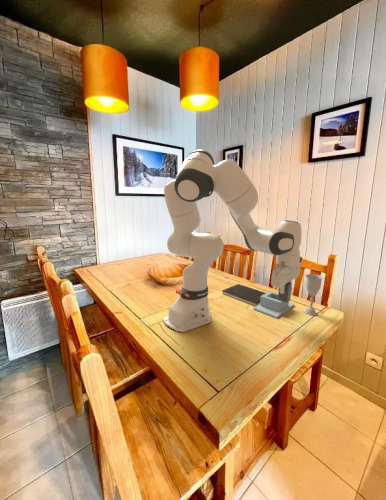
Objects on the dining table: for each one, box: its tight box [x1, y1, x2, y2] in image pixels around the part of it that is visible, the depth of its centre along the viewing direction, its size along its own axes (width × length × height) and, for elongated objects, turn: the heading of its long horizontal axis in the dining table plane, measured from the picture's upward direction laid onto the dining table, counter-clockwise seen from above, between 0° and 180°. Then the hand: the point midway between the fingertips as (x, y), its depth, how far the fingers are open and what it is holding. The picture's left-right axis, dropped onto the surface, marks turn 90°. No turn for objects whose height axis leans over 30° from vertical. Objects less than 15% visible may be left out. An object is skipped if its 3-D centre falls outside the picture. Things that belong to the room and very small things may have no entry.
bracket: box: [278, 282, 293, 303], centre depth 97 cm, size 3×6×8 cm, turn 46°
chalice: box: [304, 273, 324, 316], centre depth 105 cm, size 7×7×18 cm
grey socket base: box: [253, 290, 295, 319], centre depth 111 cm, size 18×12×6 cm, turn 133°
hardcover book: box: [221, 283, 267, 307], centre depth 127 cm, size 16×23×2 cm
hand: (284, 291), depth 96 cm, fingers closed on bracket, 3 cm apart
